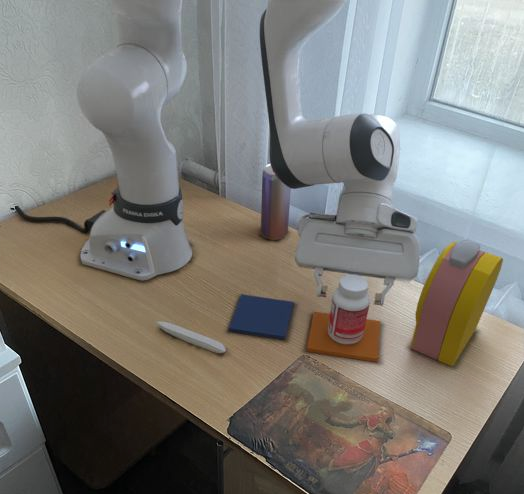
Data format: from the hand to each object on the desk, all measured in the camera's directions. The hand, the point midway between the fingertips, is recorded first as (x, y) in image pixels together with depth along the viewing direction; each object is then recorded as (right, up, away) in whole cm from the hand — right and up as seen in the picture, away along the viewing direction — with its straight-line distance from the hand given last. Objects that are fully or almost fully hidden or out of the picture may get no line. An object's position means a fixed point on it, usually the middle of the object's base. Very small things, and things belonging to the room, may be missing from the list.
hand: (349, 300), depth 88 cm
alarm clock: (+17, -6, +6) cm, 19 cm away
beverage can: (-12, +17, +30) cm, 36 cm away
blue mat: (-14, -2, +8) cm, 17 cm away
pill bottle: (0, -6, +5) cm, 7 cm away
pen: (-27, -7, +4) cm, 28 cm away
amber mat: (0, -6, +5) cm, 8 cm away
